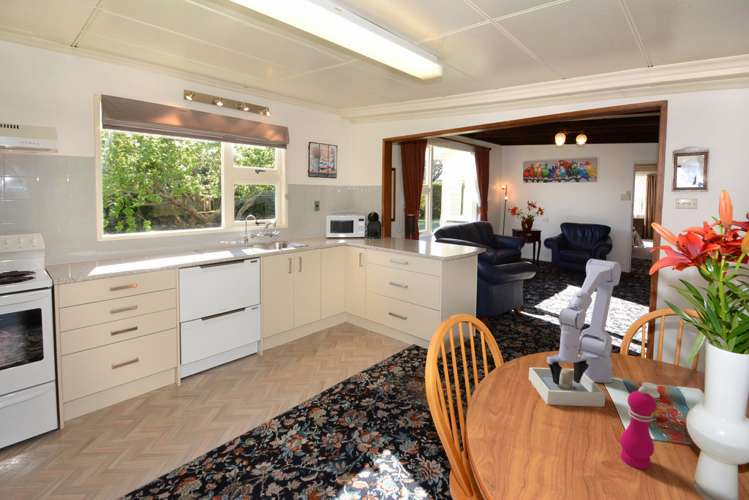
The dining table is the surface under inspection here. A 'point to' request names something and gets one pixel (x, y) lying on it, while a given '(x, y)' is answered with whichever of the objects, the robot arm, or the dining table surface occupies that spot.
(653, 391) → the supplement bottle
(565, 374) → the peg
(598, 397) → the tray
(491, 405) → the dining table surface
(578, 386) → the bore plate
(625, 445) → the pepper mill
